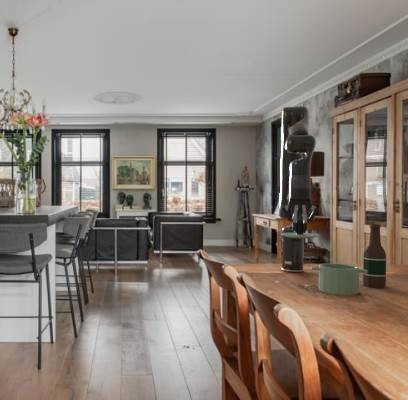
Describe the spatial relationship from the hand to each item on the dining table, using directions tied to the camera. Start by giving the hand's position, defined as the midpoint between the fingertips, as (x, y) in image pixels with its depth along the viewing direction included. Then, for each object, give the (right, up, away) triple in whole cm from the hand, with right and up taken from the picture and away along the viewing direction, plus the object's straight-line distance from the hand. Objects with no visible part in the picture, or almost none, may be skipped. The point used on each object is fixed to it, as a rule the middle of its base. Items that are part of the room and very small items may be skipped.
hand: (299, 232), depth 167 cm
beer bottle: (+30, -21, +2) cm, 37 cm away
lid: (0, -1, 0) cm, 1 cm away
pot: (+10, -21, -9) cm, 25 cm away
